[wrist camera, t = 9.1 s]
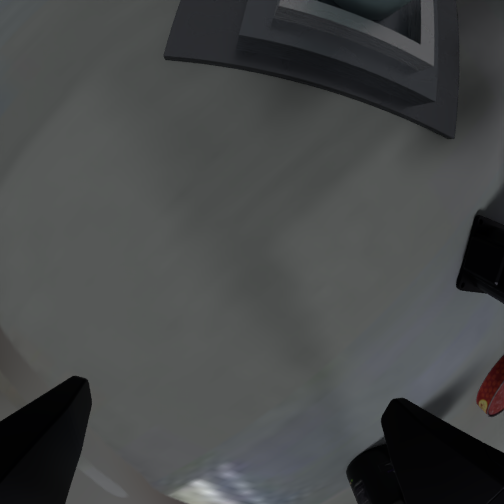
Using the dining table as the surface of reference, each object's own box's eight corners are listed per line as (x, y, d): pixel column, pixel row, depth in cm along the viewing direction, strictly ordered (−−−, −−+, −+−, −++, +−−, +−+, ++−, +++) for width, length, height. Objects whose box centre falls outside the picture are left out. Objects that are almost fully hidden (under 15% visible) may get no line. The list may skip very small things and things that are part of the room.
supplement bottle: (401, 435, 27) (446, 509, 16) (391, 464, 29) (426, 530, 18) (346, 455, 27) (383, 540, 15) (342, 481, 29) (370, 554, 17)
